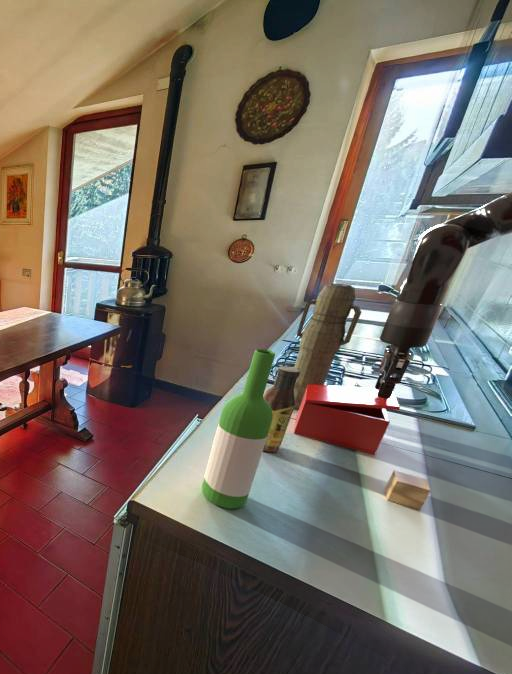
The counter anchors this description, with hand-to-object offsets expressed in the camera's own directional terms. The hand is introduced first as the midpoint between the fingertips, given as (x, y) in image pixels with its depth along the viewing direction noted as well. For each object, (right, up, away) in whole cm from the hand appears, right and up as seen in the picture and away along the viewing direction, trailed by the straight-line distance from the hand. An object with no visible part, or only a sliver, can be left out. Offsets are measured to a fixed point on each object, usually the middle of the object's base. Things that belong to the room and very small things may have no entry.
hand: (381, 393), depth 91 cm
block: (-11, -20, -15) cm, 28 cm away
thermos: (-1, -4, +24) cm, 24 cm away
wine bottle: (-47, -20, -16) cm, 53 cm away
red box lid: (-4, -1, +4) cm, 6 cm away
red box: (-5, -11, +8) cm, 14 cm away
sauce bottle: (-26, -13, +2) cm, 30 cm away
